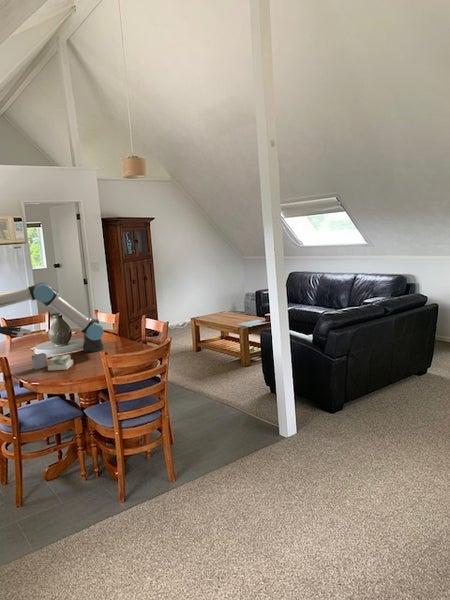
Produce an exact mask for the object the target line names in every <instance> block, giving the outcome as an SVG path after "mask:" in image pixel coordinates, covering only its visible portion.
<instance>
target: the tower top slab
mask: <svg viewBox="0 0 450 600" xmlns="http://www.w3.org/2000/svg"><path fill="white" fill-rule="evenodd" d="M70 360H72V358H71V354H63V355H62V354H61V355H58V354H57V355H54V356H52V357H51V358H50V359H49V360H48V361H49V364H50V365H64V364H67V363H68V362H69V361H70Z"/></svg>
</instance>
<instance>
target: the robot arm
mask: <svg viewBox="0 0 450 600" xmlns="http://www.w3.org/2000/svg"><path fill="white" fill-rule="evenodd" d="M27 301H31V302H32V301H38V302H39V303H41V304H43V305H44V306H46V307H48V308H49V307H50V308H51V309H53V310H55V311H56V312H58V313H59V314H60V315H62V316H63V317H64V318H65V319H67V320H68V321H70V322H71V323H73V324H74V325H75V326H76V327H77V328H79V332H81V334H82V335H83V344H82V352H84V353H95V352H99V351H102V350H104V349H105V346H104V343H103V340H102V337H103V336H104V328H103V325H101V324H100V320H99V317H94V318H92V317H87V316H86V315H84V314H83V313H82V312H81V311H79V310H78V309H76V308H75V307H74V306H72V304H70V303H69V302H67V301H66V300H65V299H63V298H62V297H61V296H60V294H59V292H58V291H57V290H55V289H54V288H53V287H51V286H50V284H48V283H45V282H39V283H36V284H34V285H30V286H27V288H26V289H21V290H19V291H15V292H11V293H7V294H3V295H0V308H4V307H9V306H12V305H16V304H19V303H23V302H27ZM31 333H32V332H31V329H28V328H22V327H21V326H19V327H18V326H7V325H4V326H1V323H0V334H1V335H5V336H8V337H12V336H13V337H20V338H23V337H24V334H28V335H30V334H31Z"/></svg>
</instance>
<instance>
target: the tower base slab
mask: <svg viewBox="0 0 450 600" xmlns="http://www.w3.org/2000/svg"><path fill="white" fill-rule="evenodd" d="M47 365H48V366H47V371H62V370H63V371H64V370H68V369H69V368H70V367H73V365H74V359H71V360H70V361H69V362H68V363H67V364H64V365H50V363H49V364H47Z"/></svg>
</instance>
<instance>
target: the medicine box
mask: <svg viewBox="0 0 450 600" xmlns="http://www.w3.org/2000/svg"><path fill="white" fill-rule="evenodd" d="M47 359H48V357H47V353H45V352H41V353H37V354H33V355H31V364H32V369H34V370H40V369H42V368H43V369H44V368H48V365H49V364H48V360H47Z"/></svg>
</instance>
